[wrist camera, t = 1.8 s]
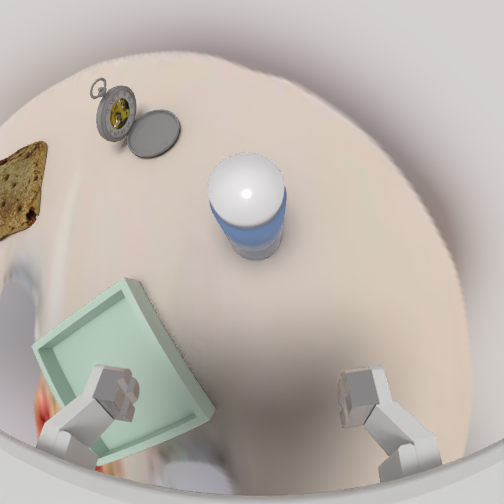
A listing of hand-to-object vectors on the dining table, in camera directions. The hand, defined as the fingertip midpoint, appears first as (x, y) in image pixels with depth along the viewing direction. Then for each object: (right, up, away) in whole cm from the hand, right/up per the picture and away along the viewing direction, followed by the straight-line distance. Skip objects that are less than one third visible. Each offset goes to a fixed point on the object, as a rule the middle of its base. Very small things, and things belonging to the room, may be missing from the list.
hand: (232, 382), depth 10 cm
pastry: (-35, +14, +23) cm, 44 cm away
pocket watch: (-12, +19, +23) cm, 32 cm away
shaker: (+1, +7, +19) cm, 20 cm away
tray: (-13, -8, +17) cm, 23 cm away
